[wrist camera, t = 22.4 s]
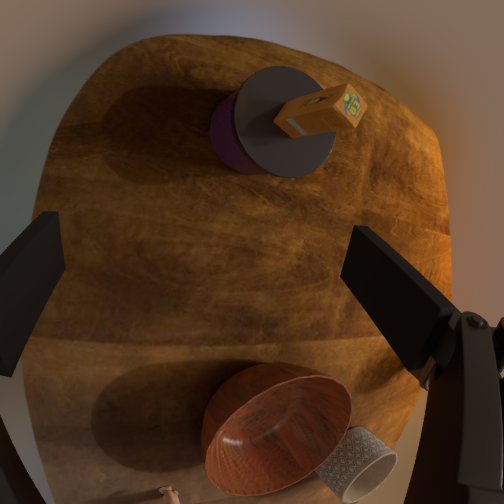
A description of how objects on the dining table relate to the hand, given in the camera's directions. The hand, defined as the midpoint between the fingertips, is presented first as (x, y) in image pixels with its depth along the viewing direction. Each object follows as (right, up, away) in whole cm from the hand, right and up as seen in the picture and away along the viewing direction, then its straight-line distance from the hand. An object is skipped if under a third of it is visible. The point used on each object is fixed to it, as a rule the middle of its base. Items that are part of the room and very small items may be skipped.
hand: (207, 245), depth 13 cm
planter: (+23, -49, +53) cm, 75 cm away
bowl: (+2, -26, +38) cm, 46 cm away
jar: (+2, +16, +29) cm, 33 cm away
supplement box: (+6, +14, +20) cm, 25 cm away
